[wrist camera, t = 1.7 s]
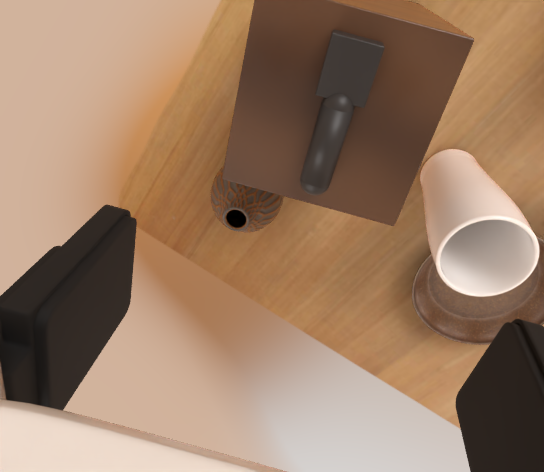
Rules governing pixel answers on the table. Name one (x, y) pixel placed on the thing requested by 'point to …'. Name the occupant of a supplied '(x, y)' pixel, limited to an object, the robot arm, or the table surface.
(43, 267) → the robot arm
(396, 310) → the table surface
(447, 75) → the stand
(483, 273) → the tall white cup
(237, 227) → the vase
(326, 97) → the dark grey mallet
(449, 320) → the saucer
